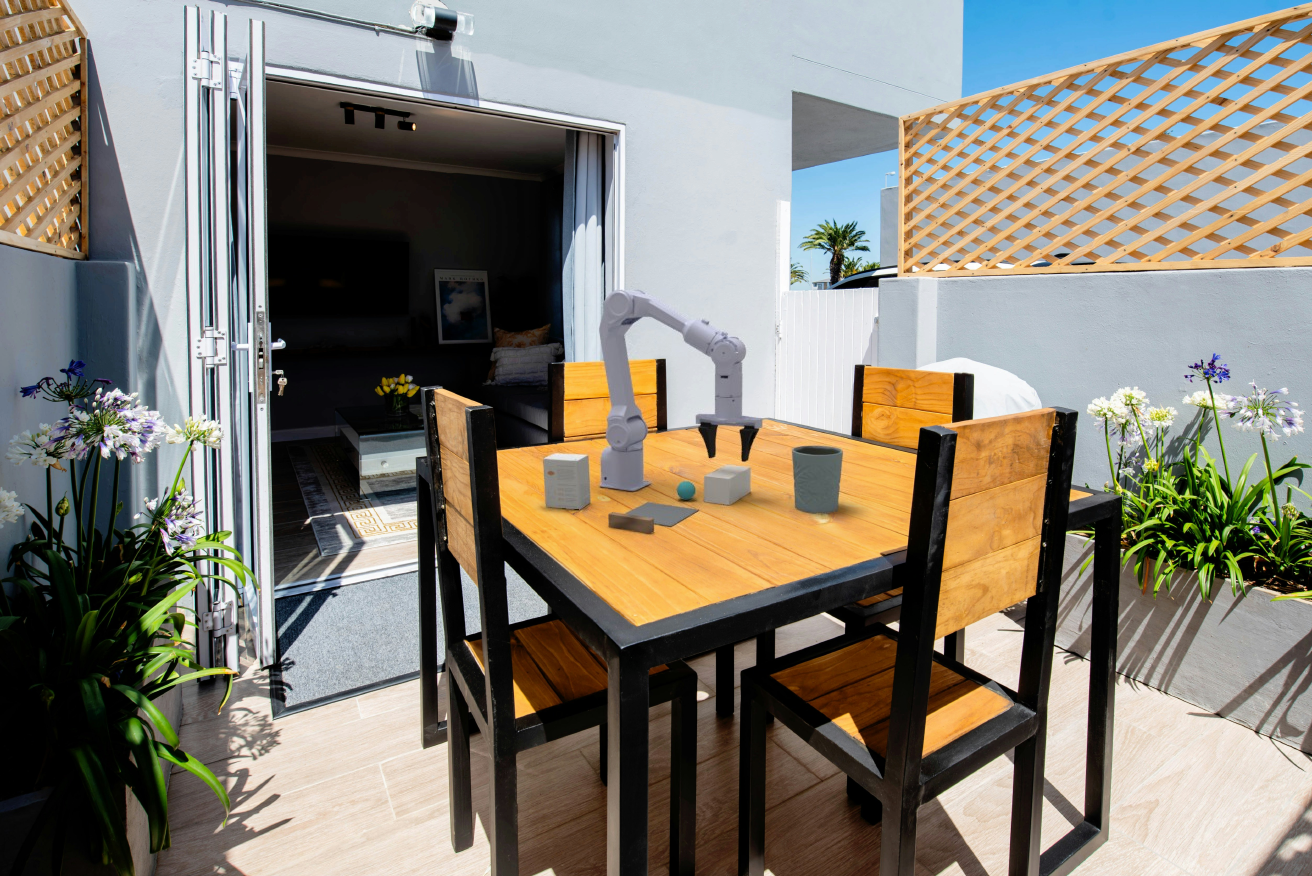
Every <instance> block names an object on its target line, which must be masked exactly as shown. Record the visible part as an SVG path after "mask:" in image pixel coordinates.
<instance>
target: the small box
mask: <svg viewBox="0 0 1312 876" xmlns="http://www.w3.org/2000/svg"><path fill="white" fill-rule="evenodd" d="M589 459H590V458H589V454H578V453H577V454H576V453H561V452H560V453H558V452H555V453H552V454H550V455H547V456H546V457H543V459H542V463H543V467H542V468H543V482H544V498H545V499H544V503H545V508H550V507H555V508H554V509H562V508H566V509H565V510H574V509H579V510H578V511H580V510H582V509H584V508H585V507H586V506H588V505H589V504H591V502H592V501H591V480H590V477H591V476H590V462H589V461H590V460H589Z"/></svg>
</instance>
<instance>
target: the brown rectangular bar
mask: <svg viewBox="0 0 1312 876" xmlns="http://www.w3.org/2000/svg"><path fill="white" fill-rule="evenodd" d="M607 516H608V527H609V528H614V529H620V530H625V531H631V532H637V533H644V534H649V535H650V534H653V533H654V532H655V524H654V518H648V517H642V516H635V515H629V514H625V513H623V512H616V511H612V512H609V513H608V515H607Z"/></svg>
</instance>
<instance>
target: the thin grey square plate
mask: <svg viewBox="0 0 1312 876" xmlns="http://www.w3.org/2000/svg"><path fill="white" fill-rule="evenodd" d="M699 511H700V509H697V508H692V507H691V508H690V507H685V506H676V505H670V504H665V503H658V502H657V503H656V502H650V501H647V502H645V503H643V504H641V505H638V506H637V507H635V508H633V509H631V510H629V511H626V512H624V514H629V515H635V516H642V517H648V518H654V525H657V526H661V527H662V526H663V527H669V528H671V527H673V526H676V525H677V524H678V523H681V522H682V521H684V520H686V519H687V518H689V517H690V516H692V515H694V514H695V513H698V512H699Z"/></svg>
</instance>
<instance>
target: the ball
mask: <svg viewBox="0 0 1312 876" xmlns="http://www.w3.org/2000/svg"><path fill="white" fill-rule="evenodd" d="M695 486H696V485H694V483H693V482H691V481H689V480H683V481H681V482H680V483H679V484H678V485H677V487H676V493H677V495H678V497H679V498H680V499H682V500H684V501H687V500H688V501H689V500H691V499H693V497H695V495H696V487H695Z"/></svg>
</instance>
